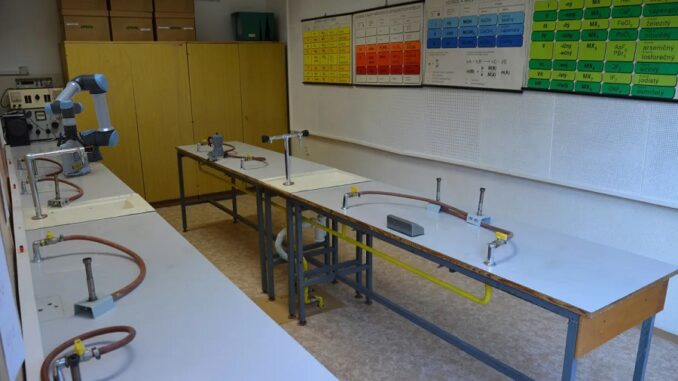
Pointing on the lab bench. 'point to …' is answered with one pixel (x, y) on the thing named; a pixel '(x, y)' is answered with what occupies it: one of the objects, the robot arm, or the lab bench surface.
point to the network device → (72, 159)
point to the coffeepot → (217, 144)
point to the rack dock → (83, 170)
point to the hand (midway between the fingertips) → (74, 156)
